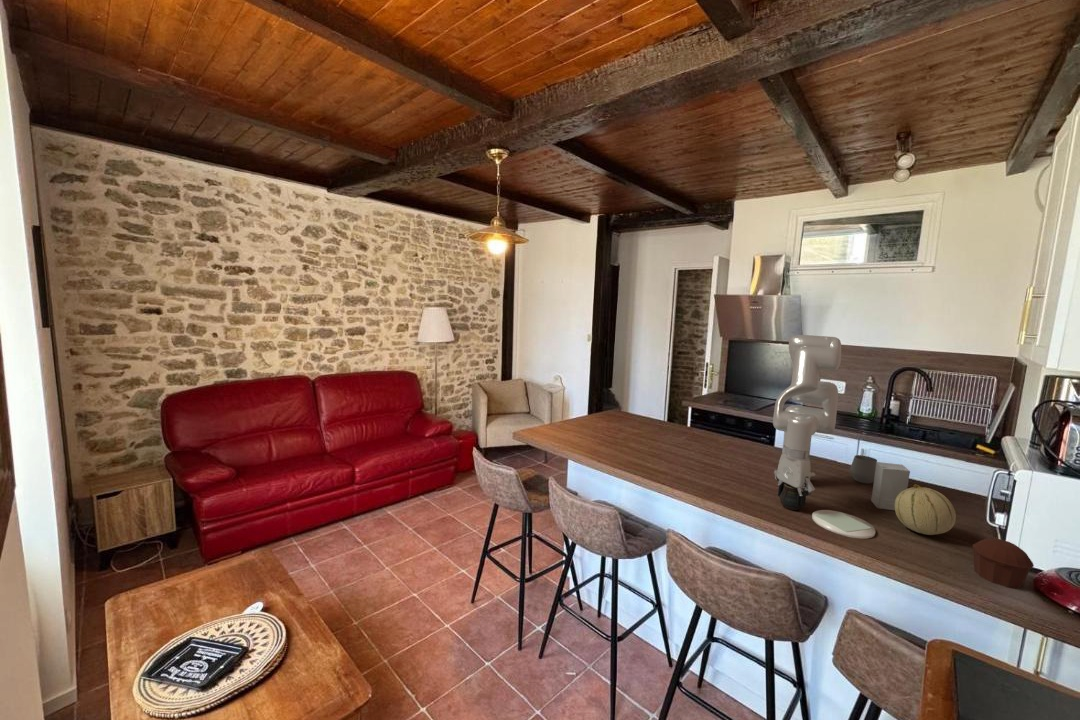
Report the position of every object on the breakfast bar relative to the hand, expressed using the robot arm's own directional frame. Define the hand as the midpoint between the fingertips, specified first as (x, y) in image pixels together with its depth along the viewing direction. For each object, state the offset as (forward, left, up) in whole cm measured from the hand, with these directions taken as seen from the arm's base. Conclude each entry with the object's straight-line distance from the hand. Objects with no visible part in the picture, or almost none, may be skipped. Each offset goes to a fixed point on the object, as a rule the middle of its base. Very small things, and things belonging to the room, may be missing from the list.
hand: (790, 500), depth 154 cm
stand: (-7, +14, -2) cm, 16 cm away
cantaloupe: (-29, +23, -3) cm, 37 cm away
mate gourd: (0, 0, -3) cm, 3 cm away
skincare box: (-37, +7, -3) cm, 38 cm away
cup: (-53, -14, -3) cm, 55 cm away
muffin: (-22, +46, -3) cm, 51 cm away
